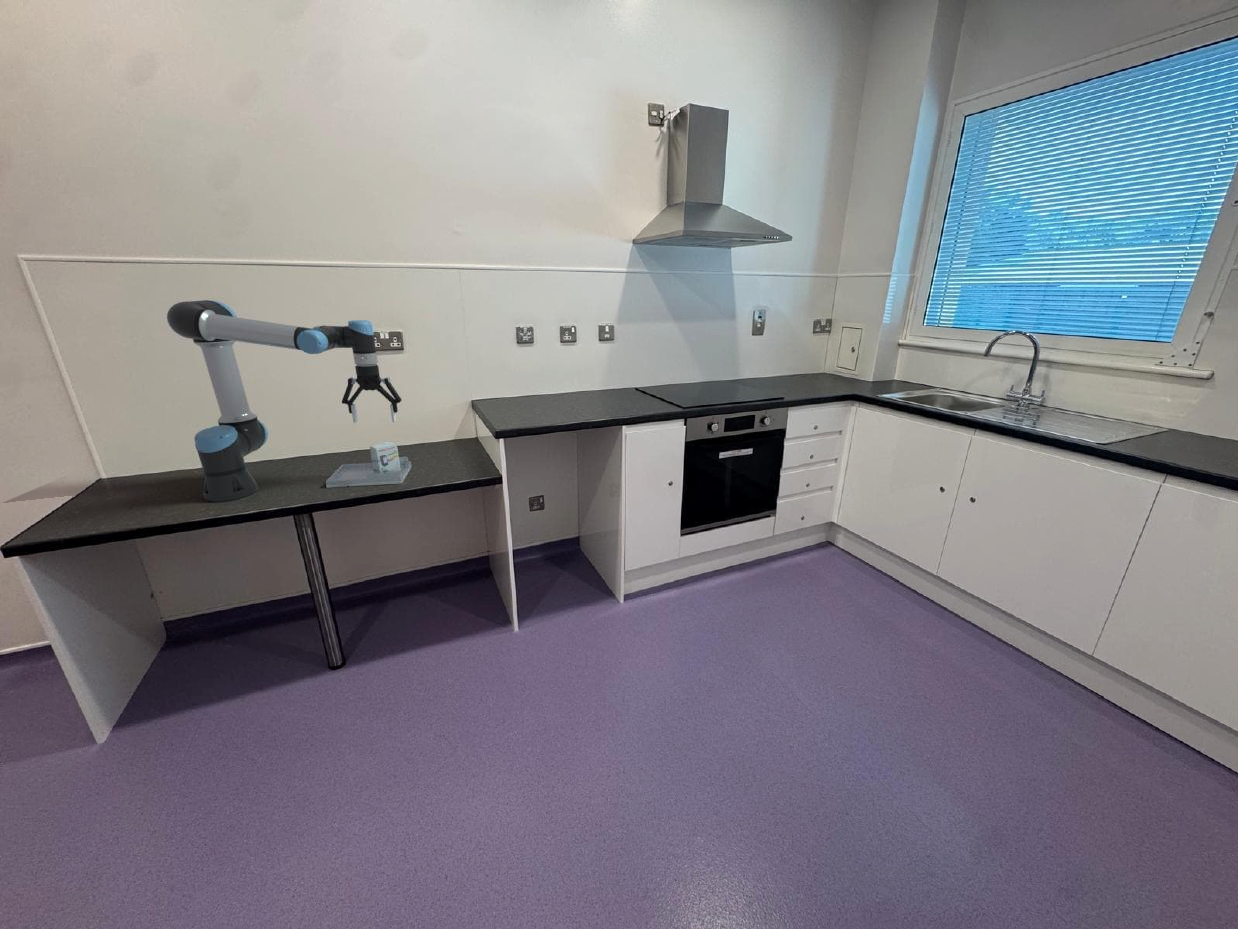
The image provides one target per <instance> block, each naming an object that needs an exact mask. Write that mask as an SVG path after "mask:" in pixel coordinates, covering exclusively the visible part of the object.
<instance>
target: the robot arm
mask: <svg viewBox="0 0 1238 929" xmlns="http://www.w3.org/2000/svg"><path fill="white" fill-rule="evenodd" d="M166 319H167V323H168V327H170V328H171V330H173V332H175V334H178V336H180V337H182V338H186V339H191V340H192V341H193V343H194V344H195V345H196V346H198V347H200V349H201V352H202V355H203V358H204V362H205V365H206V367H207V368H206V369H207V371H208V375H209V379H210V382H211V385H212V389H213V391H214V396H215V398H216V401H217V405H218V409H219V412H220V417H219V418H218V419H217V423H218V425H215V426H210V427H208V428H204V429H201V430H199V431H198V432H197V433H196V434H194V435H195V436H194V442H195V443H194V446H195V449H196V452H197V453H198V457H199V460H200V464H201V467H202V471H203V473H204V476H205V478H204V486H203V497H204V499H205V501H208V502H215V503H216V502H218V503H219V502H228V501H233V500H238V499H242V498H245V497H248V496H250V495H252V494H254V493H255V492H257V491H258V490H259V488H258V487H259V486H258V482H256V480H255V478H254V477H253V476H252V474H251V473H250V472H249V470H248V469H247V466H246V463H245V458H244V457H246V456H247V455H249V454H253V453H254V452H256V451H258V450H259V449H260V448H262V446H264V445H265V444H266V442H267V440H268V437H269V432H268V429H267V427H266V425H265V424H264V423H262V422H261V421H260V420H259V419H258V416H257V414H256V413H253V412H252V411H251V408H250V405H249V402H248V398H247V395H246V394H247V393H246V391H245V387H244V384H243V380H242V377H241V373H240V370H239V366H238V365H239V364H238V362H237V358H236V355H235V352H234V348H233V345H234V344H235V343H236V342H239V343H240V342H241V343H247V344H254V345H261V346H262V345H263V346H270V347H275V348H277V347H278V348H282V349H292V350H298V351H302V352H304V353H306V354H309V355H319V354H321V353H323V352H326V351H331V350H333V349H348V348H349V349H352V355H353V362H354V365H355V366H354V368H355V373H356V378H354V377H353V376H352V377H349V378H348V379H347V386H346V389H345V392H344V394H343V396H342V400H341V403H342V404H343V405H344V404H345V405H347V408H348V412H349V414H351V415H352V421H353V424H355V423H358V422H359V418H358V417H359V416H358V413H357V406H356V403H354V402H355V401H356V400H357V398H358V397H359V395H360V394H361V393H362V391H366V392H367V391H377V392H379V393H380V394H381V395H382V396H383V397H384V398H385V399H386V400H387V401H388V402H389V403H391V404H389V407H390V408H389V409H390V413H391V421H392V423H394V422H396V421H397V415H396V413H398V410H399V409H398V404H399V403H401V402H402V397H401V396H400V395H399V393H398V392H397V390H396V389H395V387H394V386H393V385H392V383H391V379H390V377H388V376H386V377H385V378H383V377H382V378H381V376H380V369H379V365H378V357H377V356H378V355H377V351H376V350H377V348H376V343H375V342H376V340H375V333H374V329H373V325H372V322H371V321H369V320H362V319H361V320H359V319H358V320H357V319H356V320H348V322H347V324H348V325H342V326H341V325H338V326H337V325H316V326H313V327H312V328H310V327H303V326H302V327H301V326H297V325H290V324H284V323H276V322H270V321H265V320H264V321H263V320H257V319H252V318H251V319H250V318H245V317H237V314H236V312H234V310H233V309H231V307H229V306H228V305H226V304H225V303H223V302H220V301H217V300H208V299H204V300H191V301H180V302H177V303H175V304H173V305H172V306H171V307H170V308H169V310H168V311H167V314H166ZM381 383H383V385H385V386H386V388H387V389H388V390H385V388H384V387H383V386H382V384H381ZM355 384H358V388H357V390H355V392H354V393H353V395H352V396H351V392H352V390H353V387H354V385H355ZM388 391H389V392H388ZM350 396H351V397H350ZM349 398H350V399H349Z"/></svg>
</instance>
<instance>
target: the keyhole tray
mask: <svg viewBox="0 0 1238 929" xmlns="http://www.w3.org/2000/svg"><path fill="white" fill-rule="evenodd" d="M399 462H400V468H401V471H399V470H390V471H374V470H373V464H372V462H368V463H367V462H366V463H350V464H349V463H347V464H346V463H345V464H341V465H340V466H339V467H338V468H337V469H336V470H335V471H334V472H333V473H332V474H331V475H330V476H329V478H327V479H326V481H325V485H326V488H327V489H328V488H329V489H330V488H331V489H332V488H344V487H347V486H349V487H363V486H364V487H365V486H377V485H378V486H379V485H381V486H382V485H395V484H396V485H397V484H398V485H399V484H403V482H404V481H405V479H406V478H407V476H408V474H409V472H410V471H411V469H412V467H413V466H412V461H411V460H409V457H408V456H399ZM347 488H348V487H347Z"/></svg>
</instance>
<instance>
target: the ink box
mask: <svg viewBox="0 0 1238 929" xmlns="http://www.w3.org/2000/svg"><path fill="white" fill-rule="evenodd" d="M397 445H398V444H397V442H394V441H385V442H381V443H376V444H372V445H370V446H369V451H370V457H371V463H372V464H373V470H374V471H390V470H399V471H401V468H400V462H399V457H400V456H399V451H398V449H399V448H398V446H397Z"/></svg>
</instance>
